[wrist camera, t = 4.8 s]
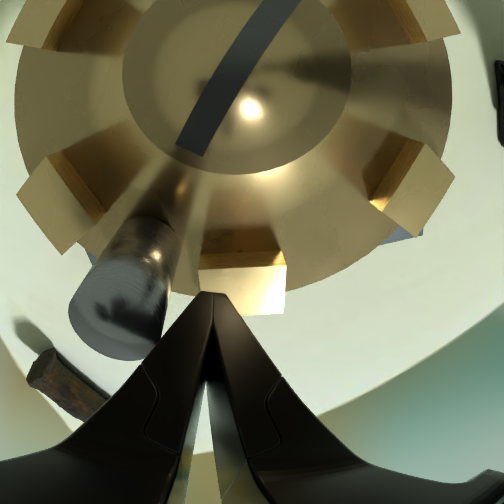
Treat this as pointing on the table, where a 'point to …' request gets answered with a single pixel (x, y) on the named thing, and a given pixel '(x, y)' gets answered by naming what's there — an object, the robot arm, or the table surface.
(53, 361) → the rough bark branch
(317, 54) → the ring nut
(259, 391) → the robot arm
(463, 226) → the table surface
